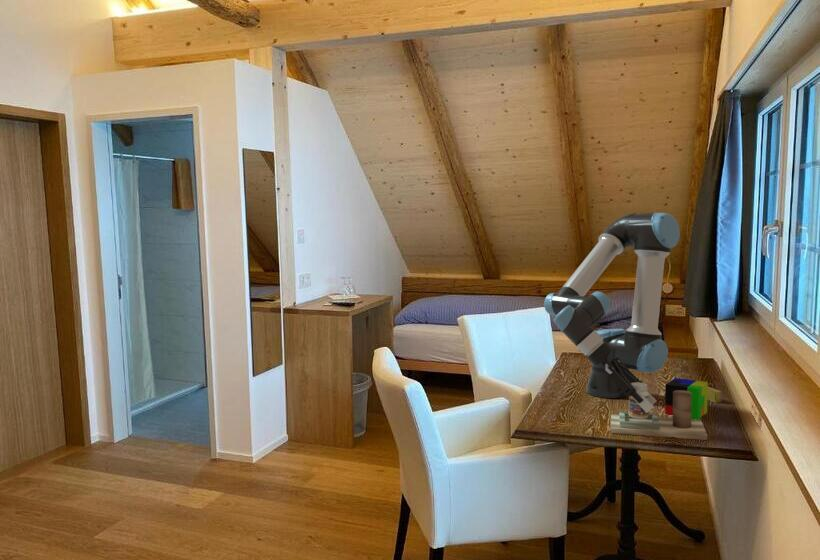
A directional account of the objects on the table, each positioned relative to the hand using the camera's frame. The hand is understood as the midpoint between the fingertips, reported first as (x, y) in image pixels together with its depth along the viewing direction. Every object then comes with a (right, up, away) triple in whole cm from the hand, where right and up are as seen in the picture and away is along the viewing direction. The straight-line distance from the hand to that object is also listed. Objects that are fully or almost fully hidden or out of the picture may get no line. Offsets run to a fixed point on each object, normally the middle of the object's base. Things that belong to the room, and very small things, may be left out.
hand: (651, 406), depth 191 cm
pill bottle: (-3, -4, +2) cm, 5 cm away
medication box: (+31, -4, +32) cm, 44 cm away
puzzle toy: (+17, -5, +15) cm, 23 cm away
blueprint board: (+2, -7, +1) cm, 7 cm away
